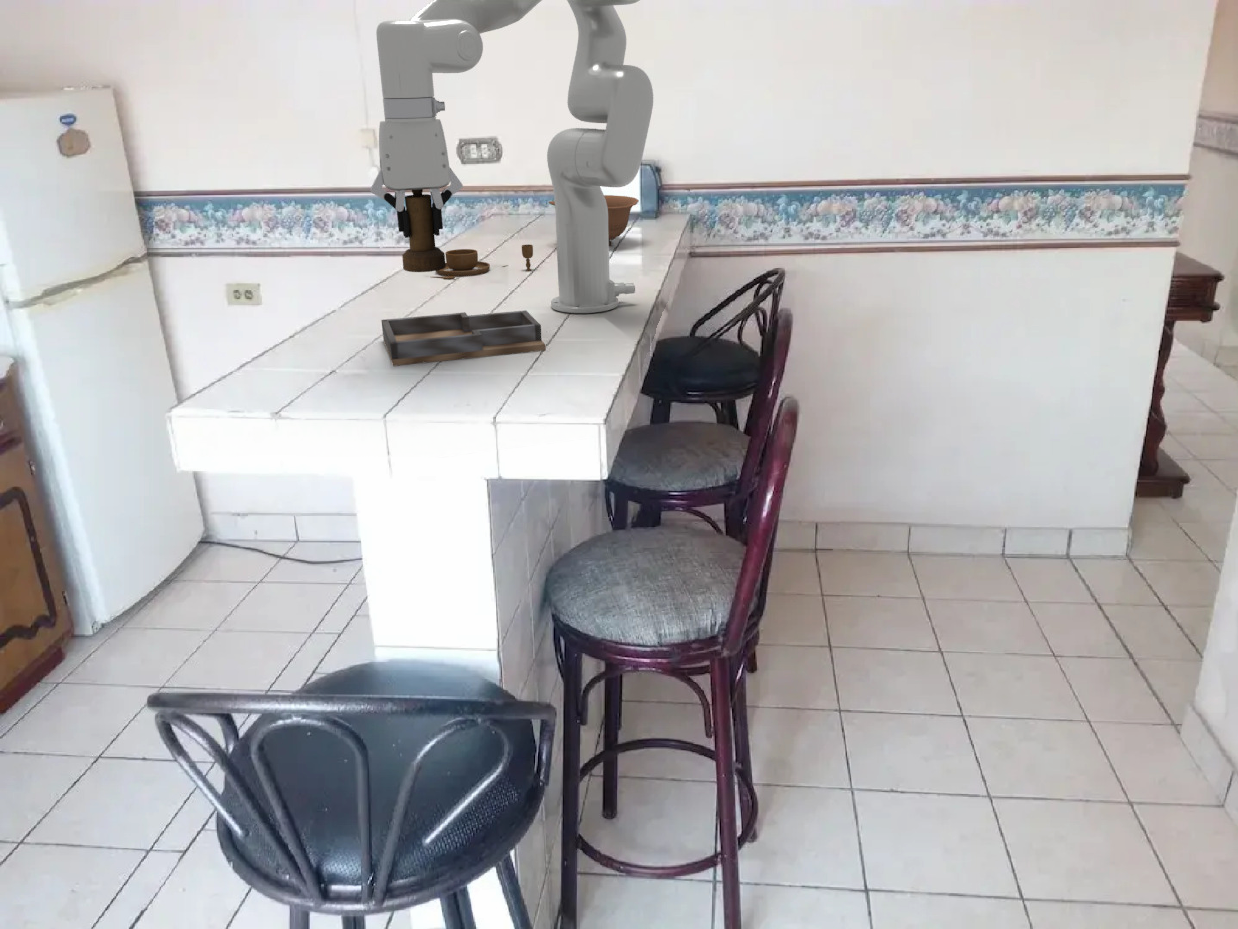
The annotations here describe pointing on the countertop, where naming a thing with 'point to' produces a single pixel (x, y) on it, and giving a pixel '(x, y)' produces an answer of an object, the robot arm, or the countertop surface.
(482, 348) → the keyhole board
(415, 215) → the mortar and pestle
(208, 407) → the countertop surface
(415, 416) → the countertop surface
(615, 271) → the countertop surface
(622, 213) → the bowl
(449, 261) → the place setting
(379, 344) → the countertop surface
